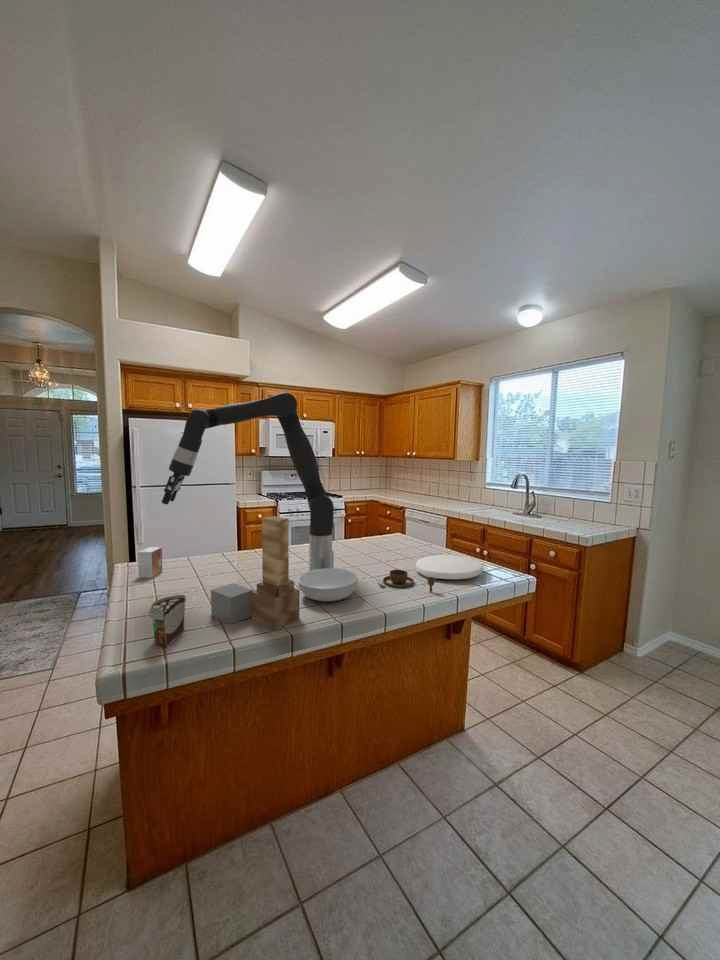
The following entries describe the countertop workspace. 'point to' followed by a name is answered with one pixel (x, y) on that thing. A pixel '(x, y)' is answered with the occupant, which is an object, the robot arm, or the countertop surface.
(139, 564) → the small box
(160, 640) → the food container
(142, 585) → the countertop surface
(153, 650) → the countertop surface
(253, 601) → the walnut rack
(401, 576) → the place setting
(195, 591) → the countertop surface
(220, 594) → the slate block
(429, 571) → the plate
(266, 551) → the oak board
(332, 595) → the serving bowl
